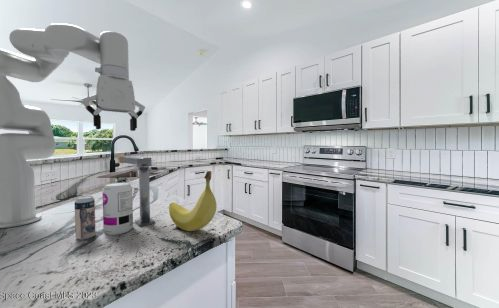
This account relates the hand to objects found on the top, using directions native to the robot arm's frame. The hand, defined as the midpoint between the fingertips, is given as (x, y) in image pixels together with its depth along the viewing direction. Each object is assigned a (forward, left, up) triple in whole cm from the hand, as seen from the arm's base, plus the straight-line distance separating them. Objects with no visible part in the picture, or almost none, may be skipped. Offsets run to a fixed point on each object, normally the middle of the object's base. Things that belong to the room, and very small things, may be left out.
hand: (116, 129), depth 70 cm
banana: (+16, +16, -32) cm, 40 cm away
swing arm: (-12, +8, -12) cm, 19 cm away
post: (-1, +8, -32) cm, 33 cm away
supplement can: (0, 0, -32) cm, 32 cm away
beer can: (-1, -9, -32) cm, 34 cm away
